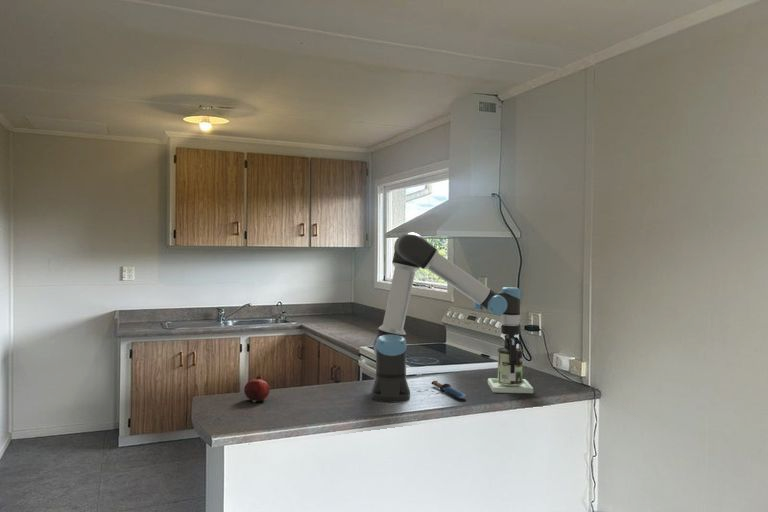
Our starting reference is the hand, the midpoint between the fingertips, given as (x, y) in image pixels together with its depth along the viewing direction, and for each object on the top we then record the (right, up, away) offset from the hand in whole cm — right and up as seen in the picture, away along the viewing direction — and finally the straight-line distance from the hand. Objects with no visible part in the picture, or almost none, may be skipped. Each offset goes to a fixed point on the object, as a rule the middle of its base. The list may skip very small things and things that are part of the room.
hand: (509, 377), depth 240 cm
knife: (-27, -4, -9) cm, 28 cm away
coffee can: (0, -2, 0) cm, 2 cm away
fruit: (-100, -4, -23) cm, 103 cm away
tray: (0, -4, 0) cm, 4 cm away
